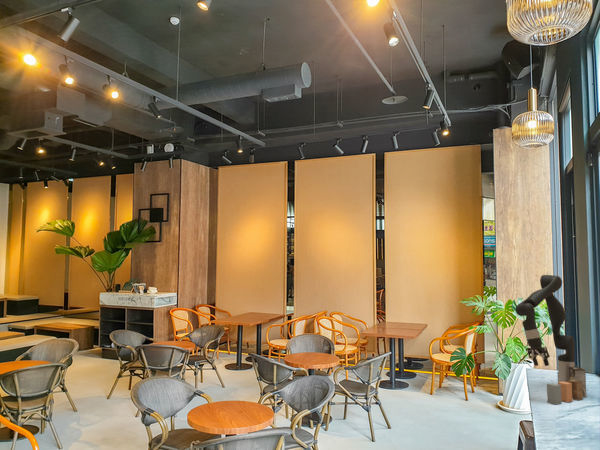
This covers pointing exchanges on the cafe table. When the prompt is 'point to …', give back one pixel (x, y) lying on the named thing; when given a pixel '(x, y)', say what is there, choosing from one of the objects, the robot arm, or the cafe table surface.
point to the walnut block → (576, 389)
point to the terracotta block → (566, 391)
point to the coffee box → (578, 377)
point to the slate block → (554, 393)
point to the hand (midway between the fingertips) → (541, 365)
